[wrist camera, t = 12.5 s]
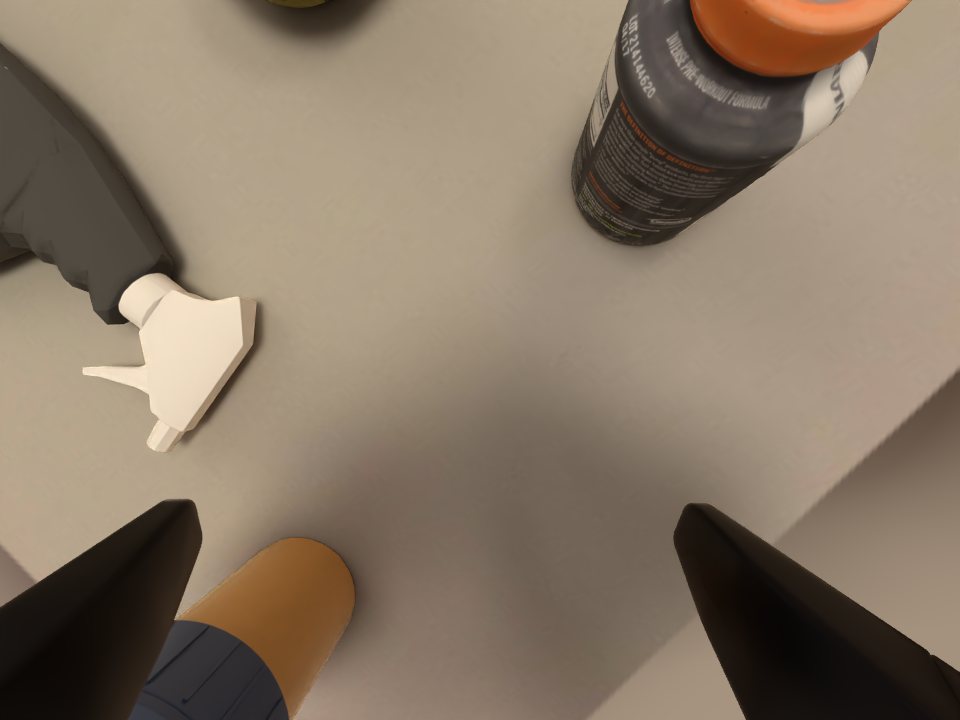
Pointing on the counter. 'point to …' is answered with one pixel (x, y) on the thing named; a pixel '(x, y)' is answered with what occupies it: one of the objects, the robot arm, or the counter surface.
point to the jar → (285, 610)
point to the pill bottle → (713, 103)
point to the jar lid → (209, 679)
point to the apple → (298, 2)
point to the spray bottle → (110, 254)
